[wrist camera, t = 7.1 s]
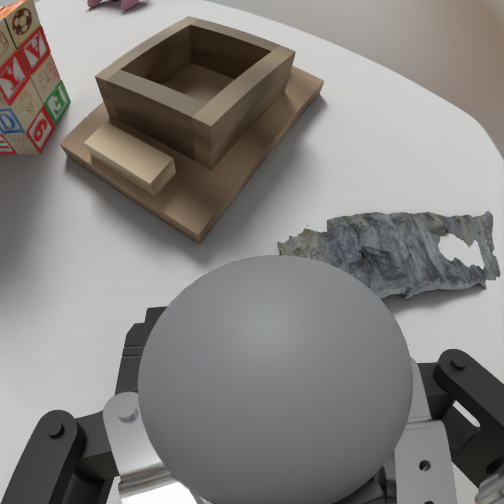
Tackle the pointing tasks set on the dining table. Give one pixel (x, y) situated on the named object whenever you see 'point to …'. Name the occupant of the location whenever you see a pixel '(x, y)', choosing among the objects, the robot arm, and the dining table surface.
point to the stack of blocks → (27, 82)
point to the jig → (191, 119)
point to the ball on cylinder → (275, 383)
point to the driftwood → (399, 250)
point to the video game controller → (126, 3)
